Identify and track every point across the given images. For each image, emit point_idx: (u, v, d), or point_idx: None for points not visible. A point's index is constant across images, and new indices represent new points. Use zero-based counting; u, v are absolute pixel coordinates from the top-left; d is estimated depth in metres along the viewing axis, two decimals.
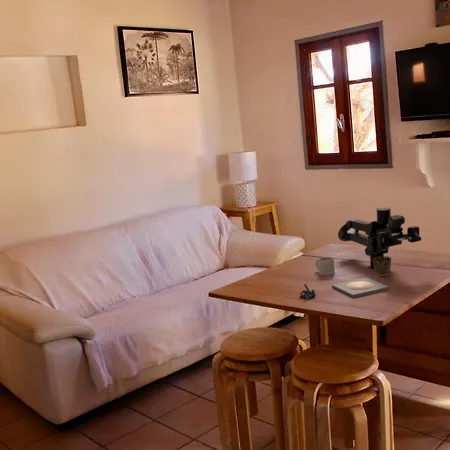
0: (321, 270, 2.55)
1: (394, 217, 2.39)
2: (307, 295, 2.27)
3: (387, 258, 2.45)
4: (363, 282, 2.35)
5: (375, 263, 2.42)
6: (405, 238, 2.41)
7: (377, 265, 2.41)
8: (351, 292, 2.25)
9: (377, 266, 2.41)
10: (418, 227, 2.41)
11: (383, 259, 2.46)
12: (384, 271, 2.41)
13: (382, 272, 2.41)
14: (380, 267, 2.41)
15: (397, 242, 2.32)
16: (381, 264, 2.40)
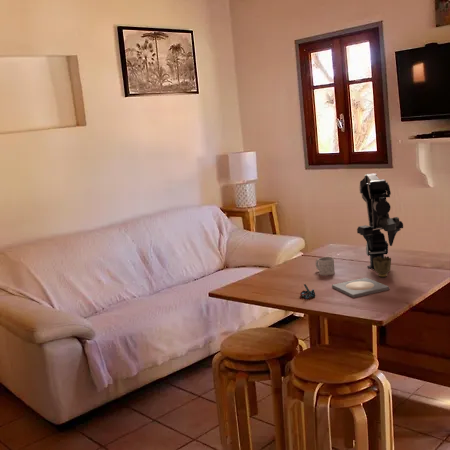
0: (321, 270, 2.55)
1: (389, 227, 2.33)
2: (307, 295, 2.27)
3: (387, 258, 2.45)
4: (363, 282, 2.35)
5: (375, 263, 2.42)
6: None
7: (377, 265, 2.41)
8: (351, 292, 2.25)
9: (377, 266, 2.41)
10: (402, 227, 2.41)
11: (383, 259, 2.46)
12: (384, 271, 2.41)
13: (382, 272, 2.41)
14: (380, 267, 2.41)
15: (369, 246, 2.40)
16: (381, 264, 2.40)
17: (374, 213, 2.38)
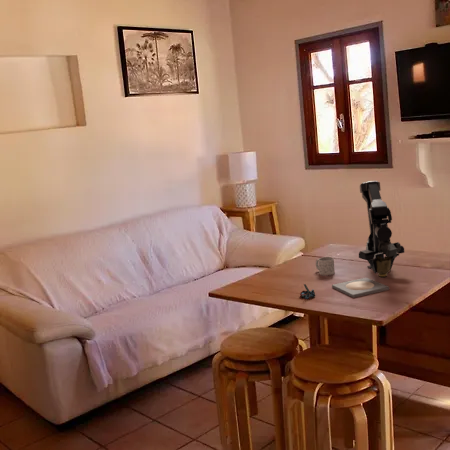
0: (321, 270, 2.55)
1: (391, 253, 2.35)
2: (307, 295, 2.27)
3: (387, 258, 2.45)
4: (363, 282, 2.35)
5: None
6: None
7: (377, 265, 2.41)
8: (351, 292, 2.25)
9: (377, 266, 2.41)
10: None
11: (383, 259, 2.46)
12: (384, 271, 2.41)
13: (382, 272, 2.41)
14: (380, 267, 2.41)
15: (373, 270, 2.43)
16: (381, 264, 2.40)
17: (375, 238, 2.40)
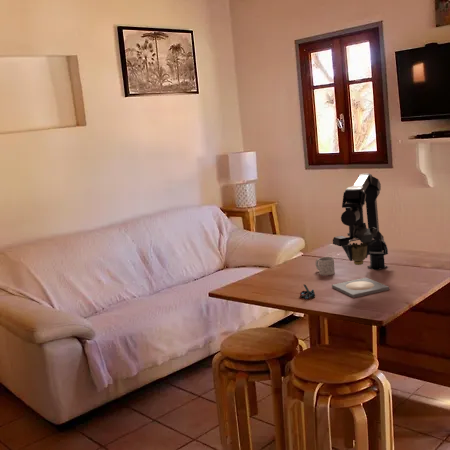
0: (321, 270, 2.55)
1: (366, 238, 2.20)
2: (307, 295, 2.27)
3: (363, 244, 2.31)
4: (363, 282, 2.35)
5: None
6: None
7: (352, 252, 2.27)
8: (351, 292, 2.25)
9: (352, 252, 2.27)
10: (381, 238, 2.29)
11: (359, 246, 2.32)
12: (360, 258, 2.27)
13: (358, 259, 2.27)
14: (355, 253, 2.26)
15: (348, 257, 2.29)
16: (356, 250, 2.26)
17: None
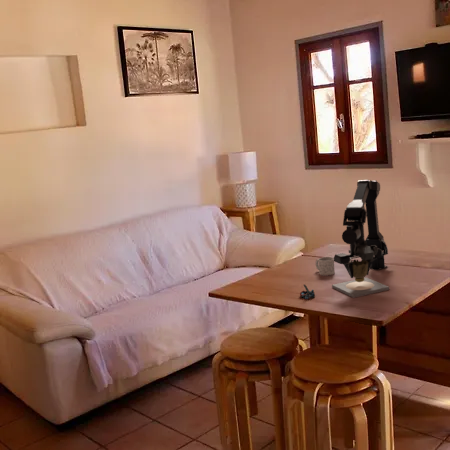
0: (321, 270, 2.55)
1: (367, 256, 2.22)
2: (307, 295, 2.27)
3: (364, 261, 2.32)
4: (363, 282, 2.35)
5: None
6: None
7: (353, 269, 2.28)
8: (351, 292, 2.25)
9: (353, 270, 2.28)
10: (381, 255, 2.30)
11: (360, 262, 2.33)
12: (361, 275, 2.28)
13: (359, 276, 2.28)
14: (356, 271, 2.28)
15: (350, 274, 2.30)
16: (357, 268, 2.27)
17: None
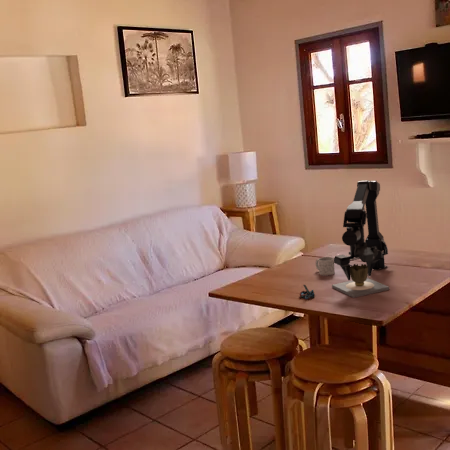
0: (321, 270, 2.55)
1: (367, 258, 2.22)
2: (306, 295, 2.27)
3: (364, 266, 2.32)
4: None
5: (351, 271, 2.29)
6: None
7: (353, 273, 2.29)
8: (351, 292, 2.25)
9: (353, 274, 2.29)
10: (381, 257, 2.30)
11: (360, 267, 2.34)
12: (361, 280, 2.28)
13: (358, 281, 2.29)
14: (356, 275, 2.28)
15: (347, 276, 2.30)
16: (357, 272, 2.27)
17: None
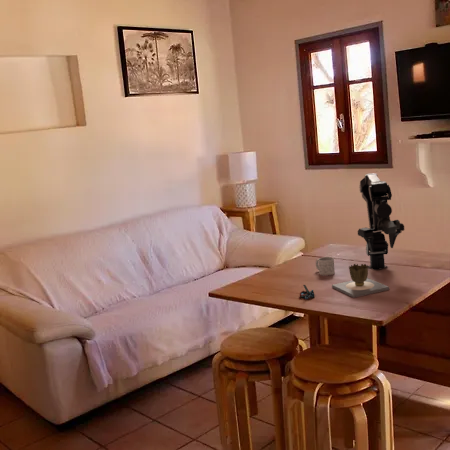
0: (321, 270, 2.55)
1: (390, 230, 2.32)
2: (306, 295, 2.27)
3: (364, 266, 2.32)
4: None
5: (351, 271, 2.29)
6: None
7: (353, 273, 2.29)
8: (351, 292, 2.25)
9: (353, 274, 2.29)
10: None
11: (360, 267, 2.34)
12: (361, 280, 2.28)
13: (358, 281, 2.29)
14: (356, 275, 2.28)
15: (370, 248, 2.40)
16: (357, 272, 2.27)
17: (375, 215, 2.37)
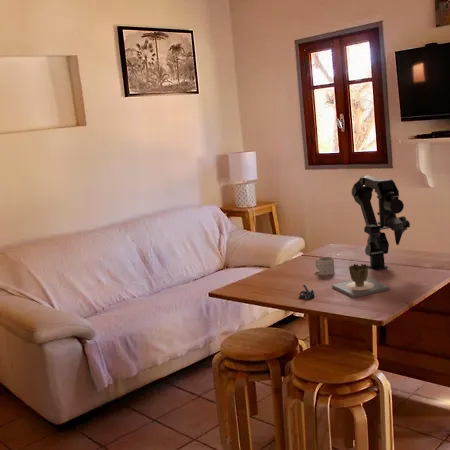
0: (321, 270, 2.55)
1: (396, 226, 2.35)
2: (306, 296, 2.27)
3: (364, 266, 2.32)
4: None
5: (351, 271, 2.29)
6: None
7: (353, 273, 2.29)
8: (351, 292, 2.25)
9: (353, 274, 2.29)
10: None
11: (360, 267, 2.34)
12: (361, 280, 2.28)
13: (358, 281, 2.29)
14: (356, 275, 2.28)
15: (376, 245, 2.43)
16: (357, 272, 2.27)
17: (381, 212, 2.40)
